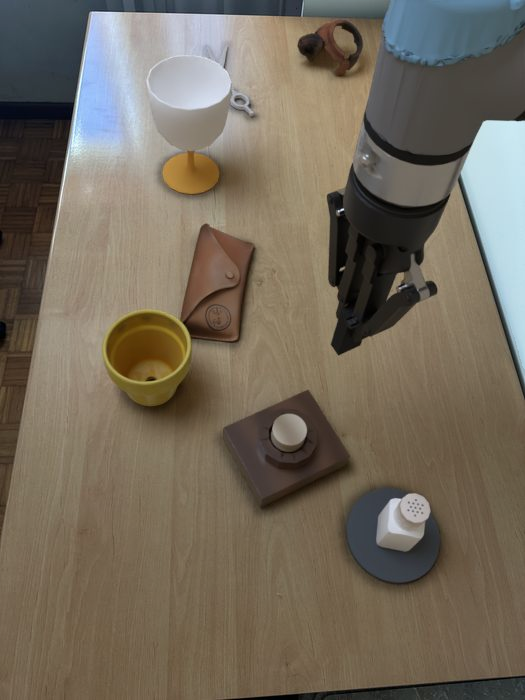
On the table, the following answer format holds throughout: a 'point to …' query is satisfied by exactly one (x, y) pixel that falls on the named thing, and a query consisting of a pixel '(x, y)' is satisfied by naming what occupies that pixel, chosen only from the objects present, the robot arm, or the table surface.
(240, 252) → the sunglasses case
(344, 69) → the brown curved piece
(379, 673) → the table surface
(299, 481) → the button base
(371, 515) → the mat
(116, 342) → the flower pot
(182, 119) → the cup
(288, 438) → the cream short cylinder
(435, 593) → the table surface
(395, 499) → the pepper shaker
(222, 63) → the scissors
